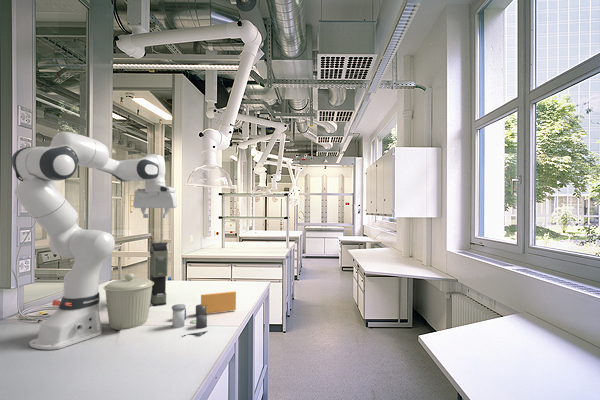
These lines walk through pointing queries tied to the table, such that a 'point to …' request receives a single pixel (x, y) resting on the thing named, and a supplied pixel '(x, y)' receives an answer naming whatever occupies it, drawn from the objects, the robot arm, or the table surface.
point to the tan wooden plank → (216, 303)
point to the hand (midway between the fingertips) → (155, 217)
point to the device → (158, 273)
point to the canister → (128, 301)
